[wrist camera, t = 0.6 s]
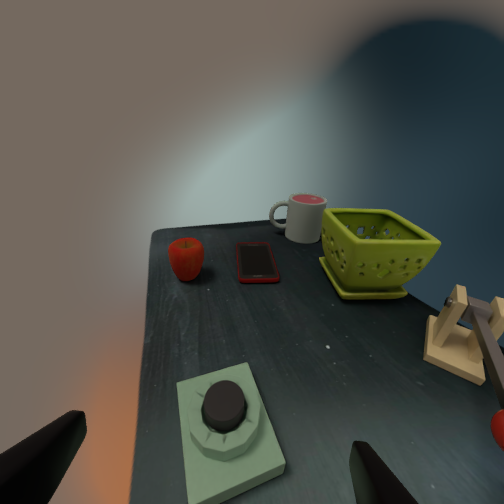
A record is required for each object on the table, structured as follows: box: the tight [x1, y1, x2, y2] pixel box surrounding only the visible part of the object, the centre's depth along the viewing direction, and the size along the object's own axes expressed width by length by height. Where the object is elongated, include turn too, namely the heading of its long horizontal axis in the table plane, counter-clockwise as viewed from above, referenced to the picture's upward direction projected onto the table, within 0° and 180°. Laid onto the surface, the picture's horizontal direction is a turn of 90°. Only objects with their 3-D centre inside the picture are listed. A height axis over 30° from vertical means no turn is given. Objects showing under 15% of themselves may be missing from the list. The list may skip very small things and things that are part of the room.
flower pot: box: [319, 208, 441, 299], centre depth 43 cm, size 14×14×13 cm
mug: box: [269, 193, 327, 243], centre depth 62 cm, size 14×9×10 cm
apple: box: [168, 238, 204, 281], centre depth 44 cm, size 6×6×8 cm
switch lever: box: [460, 296, 504, 451], centre depth 23 cm, size 22×3×3 cm, turn 145°
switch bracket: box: [423, 285, 504, 386], centre depth 32 cm, size 9×6×9 cm, turn 145°
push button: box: [204, 380, 244, 432], centre depth 22 cm, size 4×4×2 cm
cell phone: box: [236, 242, 279, 283], centre depth 51 cm, size 8×15×1 cm, turn 5°
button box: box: [177, 362, 286, 504], centre depth 23 cm, size 10×8×4 cm
